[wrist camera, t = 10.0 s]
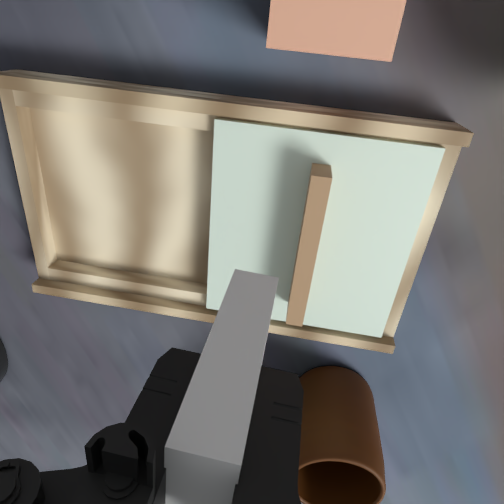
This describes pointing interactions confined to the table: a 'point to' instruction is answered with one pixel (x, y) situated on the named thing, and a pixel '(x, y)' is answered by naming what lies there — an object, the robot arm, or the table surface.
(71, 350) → the table surface
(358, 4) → the block
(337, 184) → the lid
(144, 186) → the beige flat rectangular tray
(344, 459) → the mug
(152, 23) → the table surface
